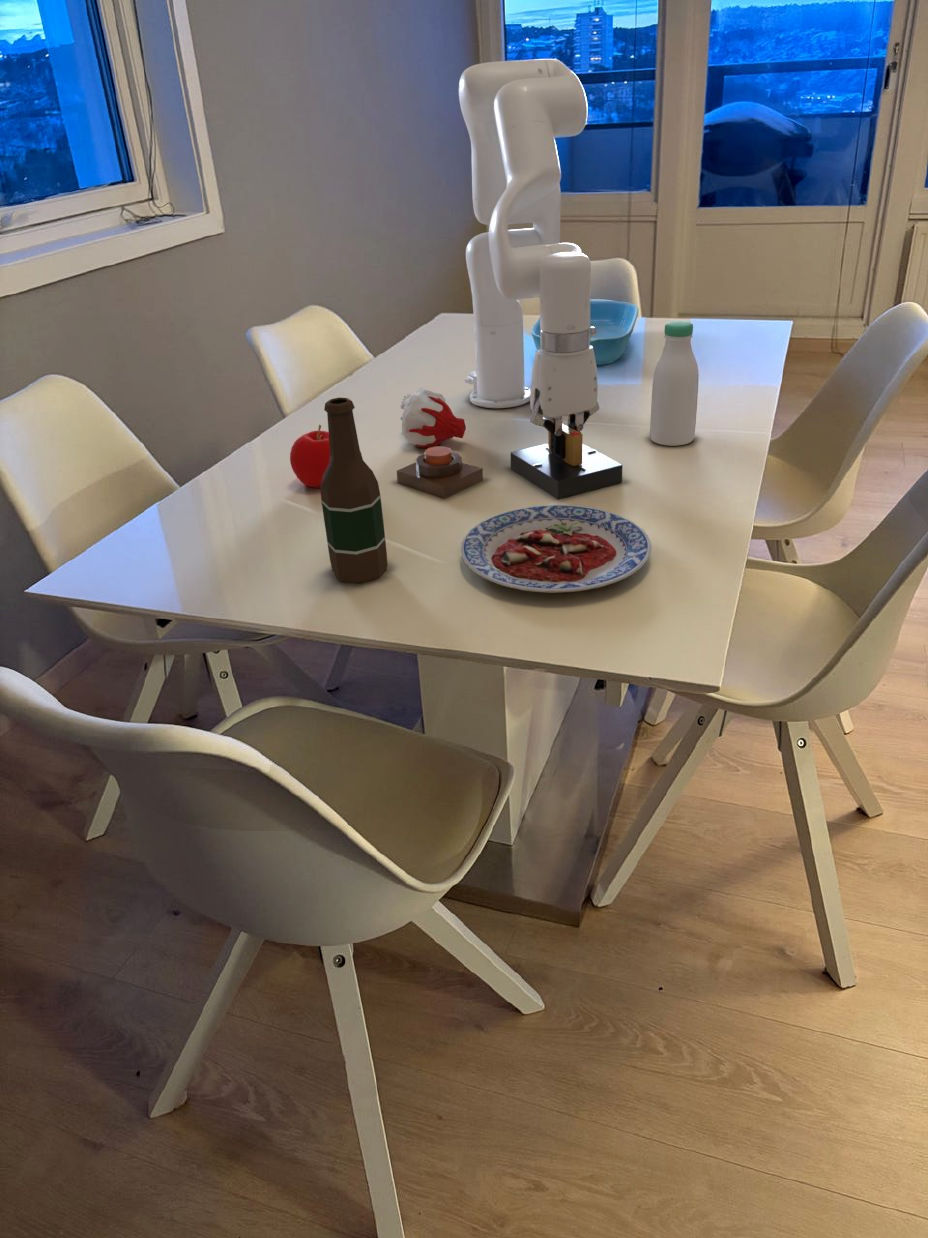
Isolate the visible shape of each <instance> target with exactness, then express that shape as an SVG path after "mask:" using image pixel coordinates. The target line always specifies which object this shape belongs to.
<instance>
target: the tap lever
mask: <svg viewBox="0 0 928 1238" xmlns="http://www.w3.org/2000/svg"><path fill="white" fill-rule="evenodd" d="M547 433H548V435H547V436H548V437H547V439H548V442H547V443H548V446H549V453H551V454H552V452H551V450H550V432H549V431H547ZM562 434H563V435H565V458H564V459H561V460H563V461H565V462H566V463H568V464H570V465H572V466H576V465H580V464H582V443H583V440H584V439H583V433H582V431H580V432H579V431H575V430H574V429H572V428H570V427H568V426H567V424H564V423H562Z"/></svg>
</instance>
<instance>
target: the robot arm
mask: <svg viewBox="0 0 928 1238" xmlns="http://www.w3.org/2000/svg"><path fill="white" fill-rule="evenodd" d="M586 95H587V94H586V92H585V89H584V87H583V84H582V82H581V81H580V79H579V77H578V76H577V75H576V73H574V71H573V70H571V69H570V68H569V67H568V66H567V65H566V64H565V63H563V61H560V60H559V59H556V58H539V59H538V58H537V59H536V58H535V59H523V60H522V59H521V60H499V61H489V62H482V63H481V62H480V63H477V64H474V65H473V64H472V65H471V66H469V67H467V68H465V69H464V71H463V72H462V73H461V75H460V77H459V82H458V100H459V106H460V110H461V115H462V117H463V120H464V124H465V126H466V129H467V132H468V135H469V140H470V148H471V149H470V150H471V191H472V193H471V194H472V209H473V214H474V216H475V219H476V220H477V221H478V222H479V224H482V225H486V226H488V227H489V228H488V231H486V232H482V233H479V234H477V235H475V236H474V237H472V238H471V239H470V240H469V241H468V243H467V245H466V247H465V263H466V268H467V274H468V278H469V284H470V291H471V299H472V300H471V301H472V312H473V330H474V351H475V367H476V368H475V370H476V371H473V370H472V371H470V372H468V374H467V376H466V377H465V378H464V383H465V384H467V385H472V386H473V388H472V389H473V390H472V391H471V392H470V393H469V401H470V403H472V404H473V405H475V406H478V407H481V408H487V409H507V408H513V407H519V406H522V405H526V404H527V403H530V404H529V405H530V410H531V411H532V412H531V416H530V418H529V422H530V423H531V424H533V425H535V426H538V427H542V428H545V429H546V431H547V432H548V431H549V432H550V450H551V452H552V454H553V455H554V456H556V457H558V458H559V459H564V458H565V435H563V434H562V424H563V417H566V416H567V425H568V427H570V428H572V429H574V430H575V431H579V432H582V431H583V430H584V427H585V426H584V425H585V423H586V422H587V421H588V420H589V418H590V417H591V416H592V415H594V414H595V413H597V412H598V411H599V410H600V405H599V402H598V395H599V393H598V392H599V391H598V390H599V389H598V388H599V387H598V386H599V385H598V369H597V365H596V360H595V355H594V350H593V347H592V346H591V345H590V342H591V337H592V336H595V335H596V329H595V328H594V327H591V326H590V303H591V299H592V297H591V296H592V295H591V292H592V289H591V288H592V263H591V260H590V257H589V256H587V255H586V254H585V253H583V251H582V249H581V247H580V246H578V245H577V244H575V243H571V242H561V243H560V241H561V215H562V214H561V213H562V193H561V191H562V190H561V186H560V185H561V184H560V182H561V179H562V171H561V164H560V159H559V155H558V149H557V144H556V138H567V137H568V138H569V137H576V136H579V135H580V134H581V133H582V132H583V131H584V130H585V127H586V124H587V120H588V112H589V111H588V110H589V109H588V99H587V96H586ZM527 223H528V224H529V223H531V224H532V227H530V228H529V227H528V228H518V229H517V228H516V229H509V225H516V224H517V225H519V224H527ZM536 298H539V317H540V345H541V347H540V348H541V349H540V350H537V349H536V350H535V353H534V357H533V363H532V367H531V375H530V378H531V379H530V388H529V387H528V386H525V353H524V352H525V349H524V344H525V343H524V311H523V306H522V305H521V302H520V300H526V299H536Z"/></svg>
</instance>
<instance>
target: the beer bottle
mask: <svg viewBox="0 0 928 1238" xmlns="http://www.w3.org/2000/svg"><path fill="white" fill-rule="evenodd" d="M355 408H356V407H355V405H354V402H353V400H352V399H350V398H348V397H334V398H331V399H329V400H327V401H326V402H325V403H324V409H323V411H325V412H326V413H327V428H328V429H327V430H328V431H327V432H329V445H330V461H329V465H328V467H327V469H326V471H325V472H324V474H323V477H322V482H321V486H320V488H319V489H320V500H321V501H320V502H321V508H322V516H323V522H324V529H325V533H326V534H325V535H326V542H327V550H328V556H329V562H330V567H331V571H332V572H333V574H334V575H335V576H336V577H337V578H338V579H339V580H340V582H345V583H353V584H354V583H355V584H362V583H366V582H369V581H373V580H376V579H379V578H380V577H381V576H382V575H383V574H384V572H385V571H386V570H387V568H388V551H387V543H386V542H387V541H386V533H385V525H384V524H385V523H384V516H383V515H384V514H383V507H382V506H383V505H382V498H381V491H380V486H379V485H380V484H379V481H378V479H377V477H376V475H375V473H374V471H373V470H372V468H371V467H369V465H368V464H367V463H366V462H365V461H364V459H363V456H362V452H361V449H360V448H361V447H360V444H359V438H358V432H357V427H356V422H355V417H354V416H355V415H354V410H355Z"/></svg>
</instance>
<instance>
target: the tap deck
mask: <svg viewBox="0 0 928 1238" xmlns="http://www.w3.org/2000/svg"><path fill="white" fill-rule="evenodd" d="M509 453H510V454H509V455H510V470H512V471H513V472H515V473H516V474H518V475H519V476H521V477H523V478H524V479H526V480H527V481H529V482H530V483H532V484H534V485H535V486H536V487H538V488H540V489H541V490H542V491H544V492H546V493H547V494H549V495H551V496H553V497H554V498H555V499H557V500H562V499H564V498H569V497H572V496H576V495H579V494H583V493H587V492H591V491H594V490H598V489H603V488H605V487H609V486H610V487H611V486H614V485H617V484H621V483H623V464H622V463H620V462H618V461H616V460H614V459H612V458H611V457H609V456H607V455H605V454H603V453H602V452H600V451H597V450H596V449H594V448H592V447H590V446H588V445H586V444H585V443H583V442H582V464H580V465H576V466H572V465H570V464H568V463H566V462H565V461H563V460H561V459H559V458H558V457H556V456H554V455H553V454H551V453H549V446H548V442H547V443H543V444H539V445H535V446H531V447H527V448H522V449H518V450H514V451H510V452H509Z"/></svg>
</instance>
